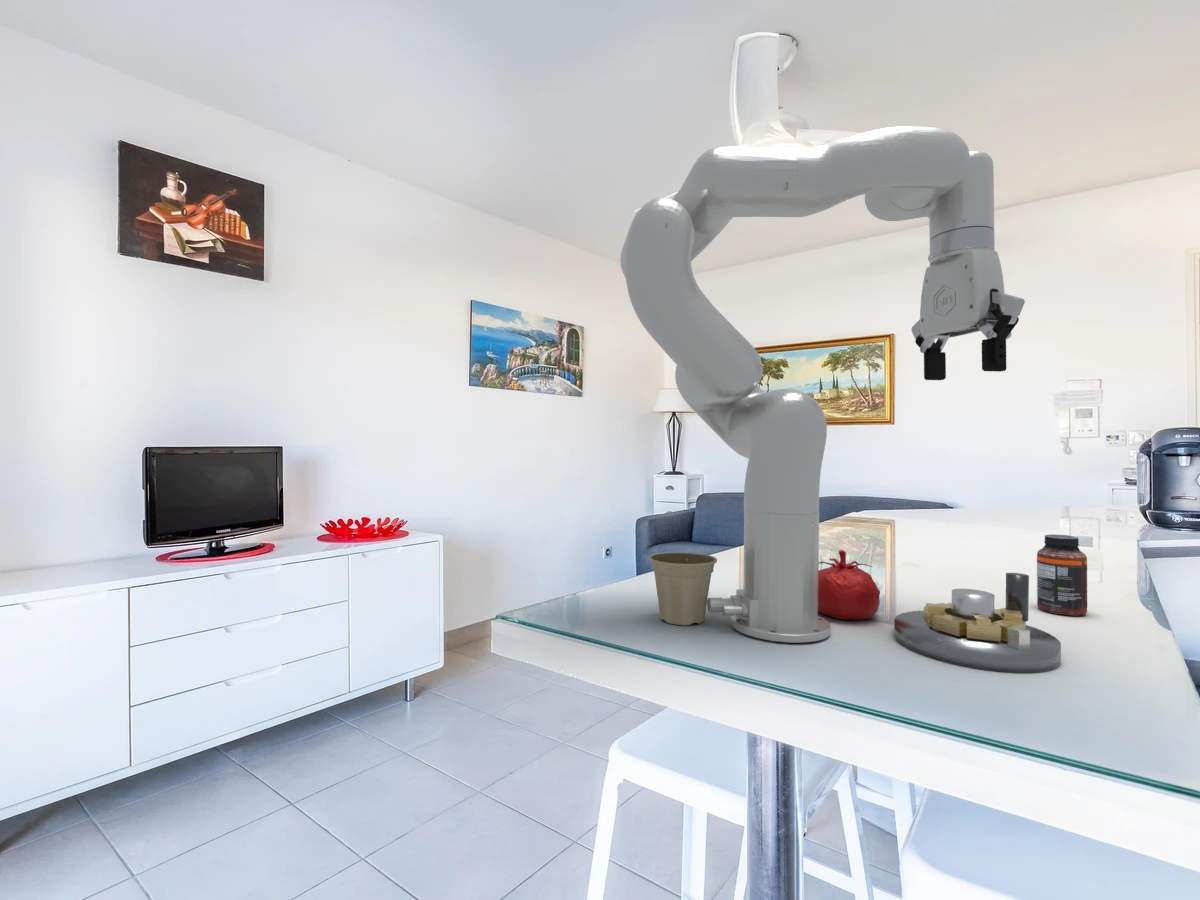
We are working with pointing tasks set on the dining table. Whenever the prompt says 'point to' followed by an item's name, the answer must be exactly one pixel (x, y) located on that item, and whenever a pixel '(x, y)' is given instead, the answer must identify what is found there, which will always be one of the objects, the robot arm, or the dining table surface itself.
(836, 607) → the pomegranate
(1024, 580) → the gold segmented ring
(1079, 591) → the supplement bottle
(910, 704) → the dining table surface
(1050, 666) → the dark oval platter
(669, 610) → the flower pot
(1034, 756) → the dining table surface
